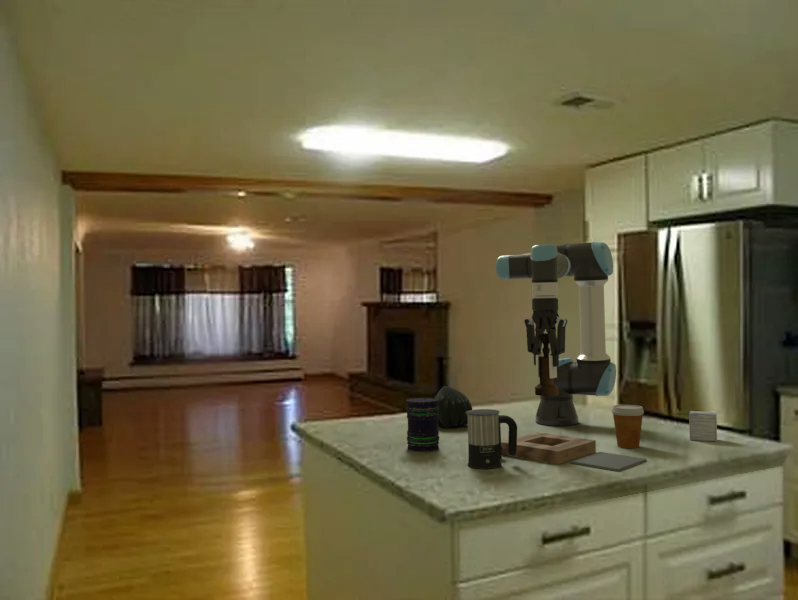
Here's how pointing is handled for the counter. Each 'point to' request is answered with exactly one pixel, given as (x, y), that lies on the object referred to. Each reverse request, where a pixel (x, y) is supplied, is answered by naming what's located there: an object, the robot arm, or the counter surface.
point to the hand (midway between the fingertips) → (546, 377)
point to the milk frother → (488, 438)
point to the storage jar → (422, 424)
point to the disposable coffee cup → (628, 425)
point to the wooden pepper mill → (545, 372)
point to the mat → (608, 461)
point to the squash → (452, 407)
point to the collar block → (551, 447)
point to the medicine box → (703, 426)
